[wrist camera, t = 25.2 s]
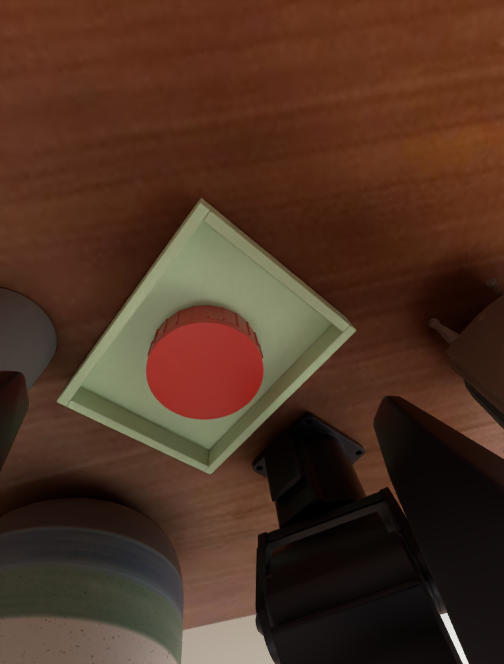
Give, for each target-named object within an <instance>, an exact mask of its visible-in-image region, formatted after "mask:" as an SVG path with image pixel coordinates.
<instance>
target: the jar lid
mask: <svg viewBox="0 0 504 664" xmlns="http://www.w3.org/2000/svg"><path fill="white" fill-rule="evenodd" d="M147 356H149V357H148V360H147V365H146V377H147V382H148V385H149V388H150V390H151V392H152V393H153V395H154V396H155V398H156V399H157V400H158V401H159V402H160V403H161V404H162V405H163V406H164V407H166V408H167V409H169V410H170V411H172V412H174V413H176V414H178V415H181V416H183V417H187V418H192V419H201V420H208V419H217V418H221V417H225V416H228V415H230V414H233V413H235V412H237V411H239V410H240V409H242V408H243V407H244V406H246V405H247V404H248V403H249V402H250V401H251V400H252V399H253V398H254V396H255V395H256V394H257V392H258V390H259V388H260V386H261V383H262V380H263V375H264V366H263V360H262V359H263V354H262V351H261V347H260V344H259V343H258V339H257V335H256V332H254V331H253V329H252V328H251V326H250V325H249V323H248V321H247V322H246V321H245V320H244V319H243V318H242V317H240V316H239V315H238V313H234V312H232V311H230V310H227V309H224V307H222V308H221V307H216V306H209V305H207V306H195V307H194V306H192V307H191V308H187V309H184V310H182V311H178V312H177V313H176V314H174V315H172V316H171V317H170V318H168V319H166V320H165V322H164V323H163V324H162V325H161V327H160V328H159V329H157V331H156V334H155V337H154V340H153V341H152V342H151V345H150V348H149V352H148V355H147Z"/></svg>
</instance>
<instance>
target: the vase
mask: <svg viewBox="0 0 504 664" xmlns="http://www.w3.org/2000/svg"><path fill="white" fill-rule="evenodd" d="M182 630H183V581H182V575H181V570H180V565H179V562H178V558H177V555H176V553H175V550H174V547H173V545H172V543H171V542H170V540H169V538H168V537H167V535H166V534H165V533H164V531H163V530H162V529H161V528H160V527H159V526H158V525H156V524H155V523H154V522H153V521H152V520H150V519H149V518H148V517H146V516H144V515H143V514H141V513H139V512H137V511H135V510H133V509H131V508H128V507H126V506H123V505H120V504H116V503H112V502H108V501H104V500H97V499H89V498H60V499H52V500H45V501H41V502H36V503H33V504H29V505H26V506H23V507H20V508H18V509H15V510H13V511H11V512H9V513H7V514H5V515H3V516H1V517H0V664H181V651H182Z"/></svg>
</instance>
